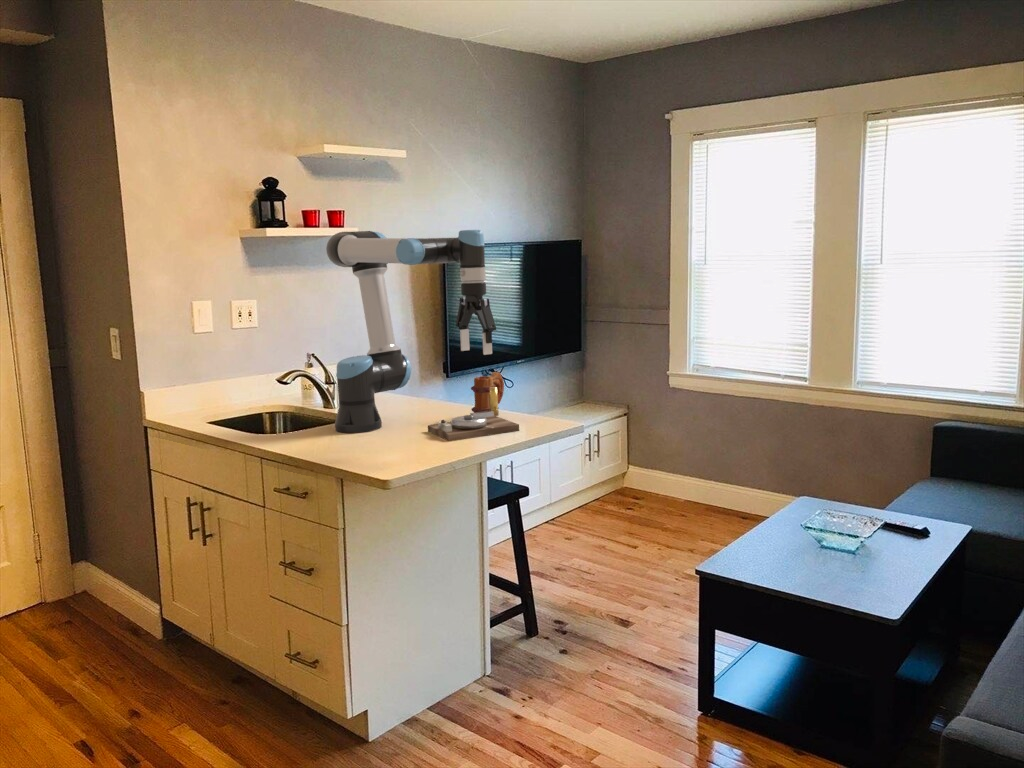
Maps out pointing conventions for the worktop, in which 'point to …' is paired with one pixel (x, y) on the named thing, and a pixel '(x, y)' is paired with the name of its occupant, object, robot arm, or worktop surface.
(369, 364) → the robot arm
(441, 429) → the stand
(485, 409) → the mug
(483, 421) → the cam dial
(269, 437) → the worktop surface
